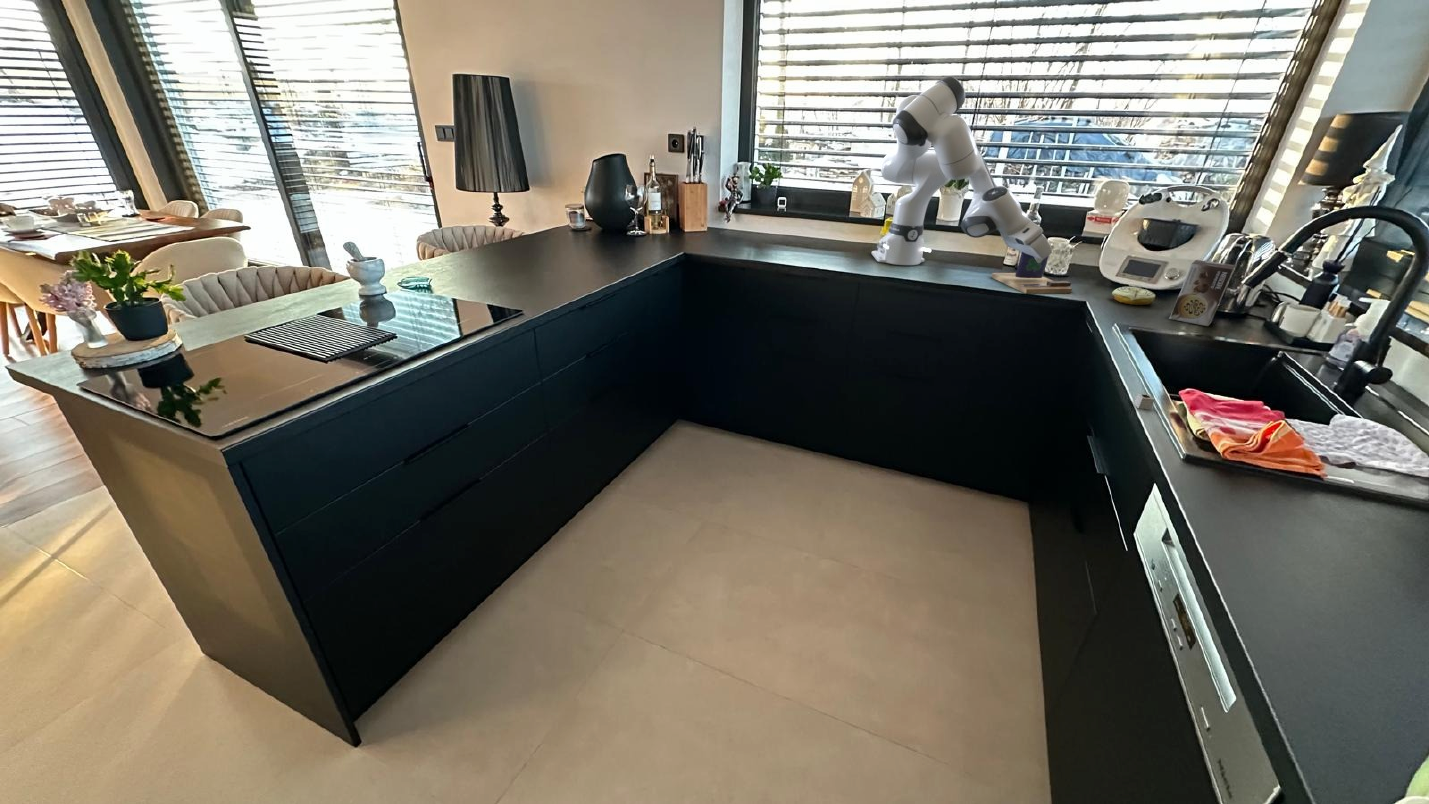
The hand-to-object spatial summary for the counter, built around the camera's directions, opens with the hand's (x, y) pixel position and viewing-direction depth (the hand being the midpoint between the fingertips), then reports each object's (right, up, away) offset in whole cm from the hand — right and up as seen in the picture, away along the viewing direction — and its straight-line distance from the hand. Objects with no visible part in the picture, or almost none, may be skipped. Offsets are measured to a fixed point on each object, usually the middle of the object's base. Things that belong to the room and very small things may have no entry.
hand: (1035, 259), depth 186 cm
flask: (-1, -5, +3) cm, 6 cm away
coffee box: (+28, -25, -28) cm, 46 cm away
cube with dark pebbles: (-23, -49, -76) cm, 94 cm away
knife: (0, -9, -3) cm, 10 cm away
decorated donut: (+23, -16, -12) cm, 31 cm away
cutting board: (-1, -8, +3) cm, 8 cm away
